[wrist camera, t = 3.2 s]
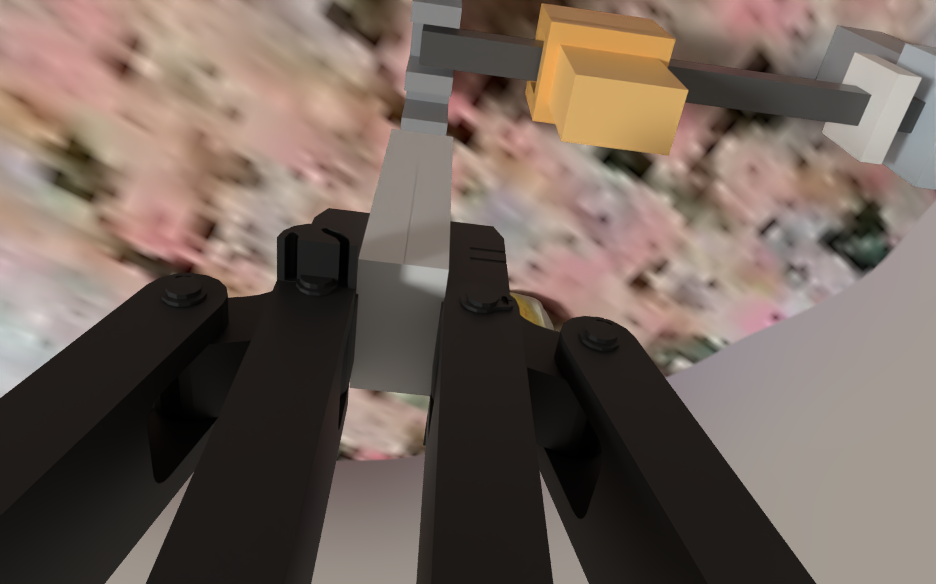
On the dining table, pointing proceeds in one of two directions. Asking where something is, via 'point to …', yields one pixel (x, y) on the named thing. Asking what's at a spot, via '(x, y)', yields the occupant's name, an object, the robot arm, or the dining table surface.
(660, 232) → the dining table surface
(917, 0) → the dining table surface
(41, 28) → the dining table surface
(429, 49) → the rod fixture
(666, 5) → the dining table surface
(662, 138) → the orange rod clamp
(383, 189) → the robot arm
